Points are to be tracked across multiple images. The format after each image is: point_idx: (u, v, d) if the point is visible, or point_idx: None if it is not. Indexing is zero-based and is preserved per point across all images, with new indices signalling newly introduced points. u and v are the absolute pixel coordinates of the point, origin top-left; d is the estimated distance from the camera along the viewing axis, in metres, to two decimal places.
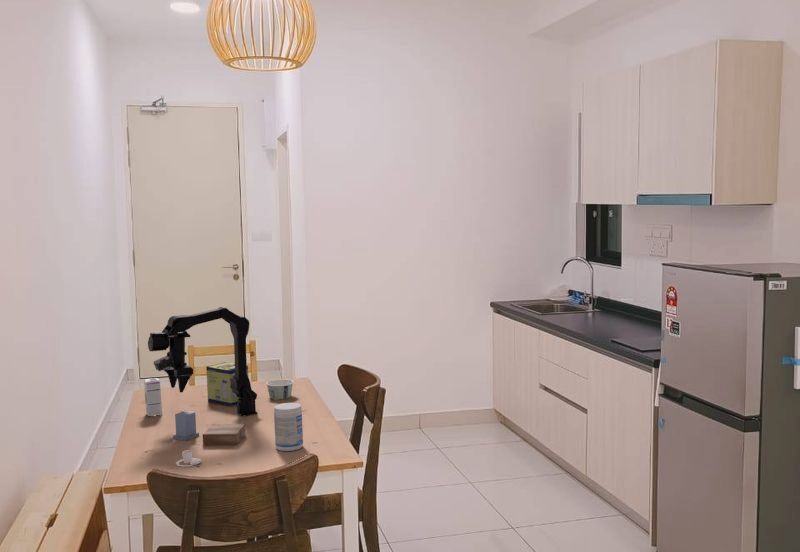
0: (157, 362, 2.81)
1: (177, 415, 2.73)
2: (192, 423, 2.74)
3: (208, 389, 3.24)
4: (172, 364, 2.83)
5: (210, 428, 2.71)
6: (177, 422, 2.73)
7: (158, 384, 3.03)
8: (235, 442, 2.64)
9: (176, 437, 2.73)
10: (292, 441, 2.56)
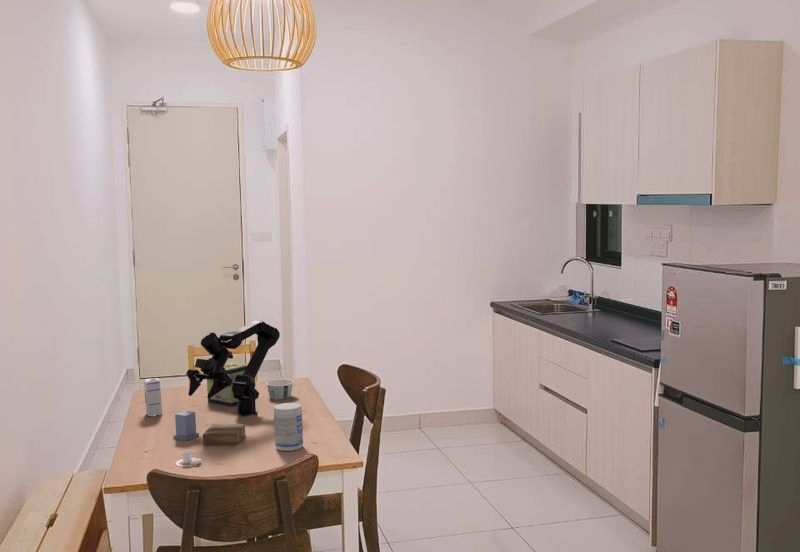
0: None
1: (177, 415, 2.73)
2: (192, 423, 2.74)
3: (208, 389, 3.24)
4: (213, 369, 2.83)
5: (210, 428, 2.71)
6: (177, 422, 2.73)
7: (158, 384, 3.03)
8: (235, 442, 2.64)
9: (176, 437, 2.73)
10: (292, 441, 2.56)
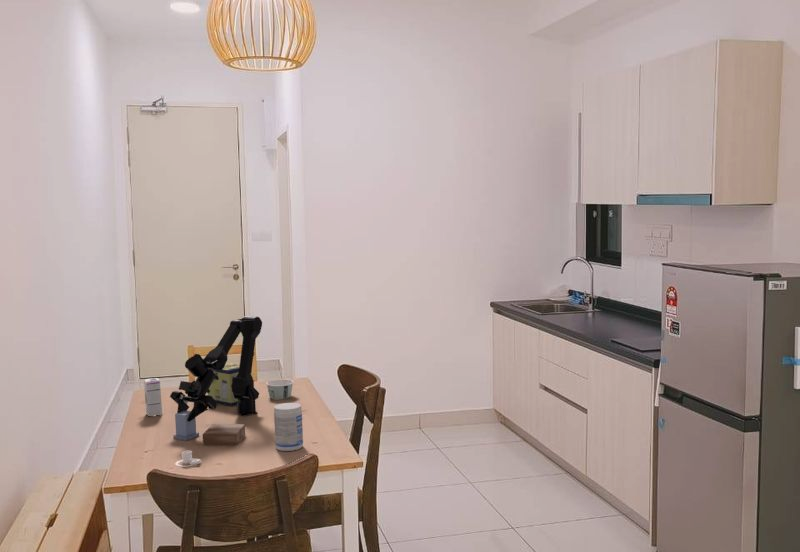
0: (188, 382, 2.74)
1: (177, 415, 2.73)
2: (192, 422, 2.74)
3: None
4: (198, 392, 2.76)
5: (210, 428, 2.71)
6: (177, 422, 2.73)
7: (158, 384, 3.03)
8: (235, 442, 2.64)
9: (176, 437, 2.73)
10: (292, 441, 2.56)
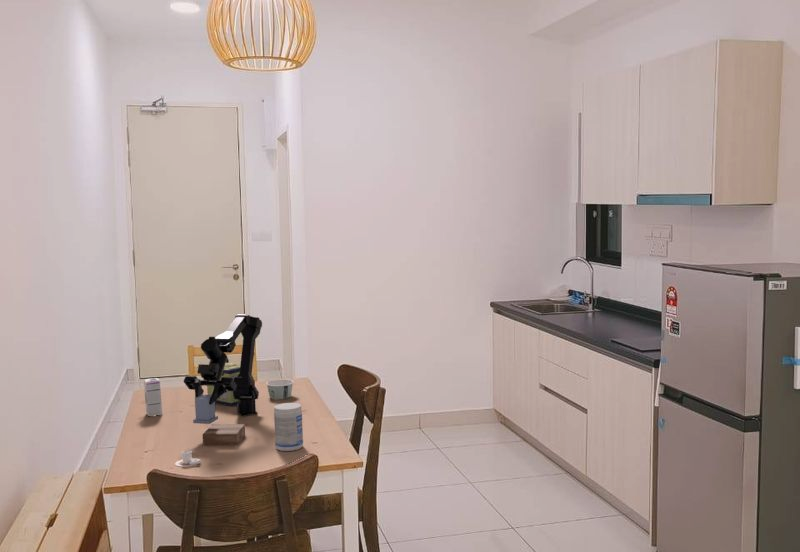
0: None
1: (197, 399, 2.68)
2: (212, 406, 2.71)
3: (208, 389, 3.24)
4: (216, 374, 2.73)
5: (210, 428, 2.71)
6: (197, 406, 2.69)
7: (158, 384, 3.03)
8: (235, 442, 2.64)
9: (197, 421, 2.68)
10: (292, 441, 2.56)
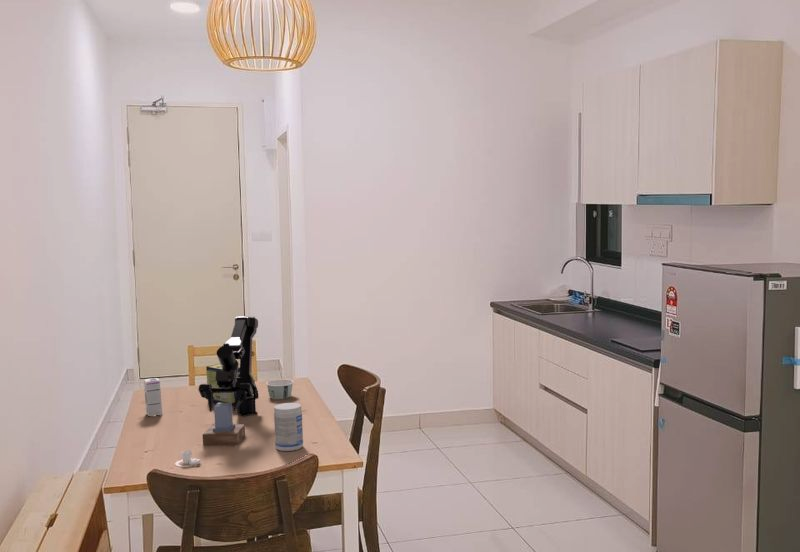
0: None
1: (217, 407, 2.67)
2: (231, 413, 2.71)
3: None
4: (233, 381, 2.73)
5: (210, 428, 2.71)
6: (217, 414, 2.67)
7: (158, 384, 3.03)
8: (235, 442, 2.64)
9: (217, 430, 2.67)
10: (292, 441, 2.56)
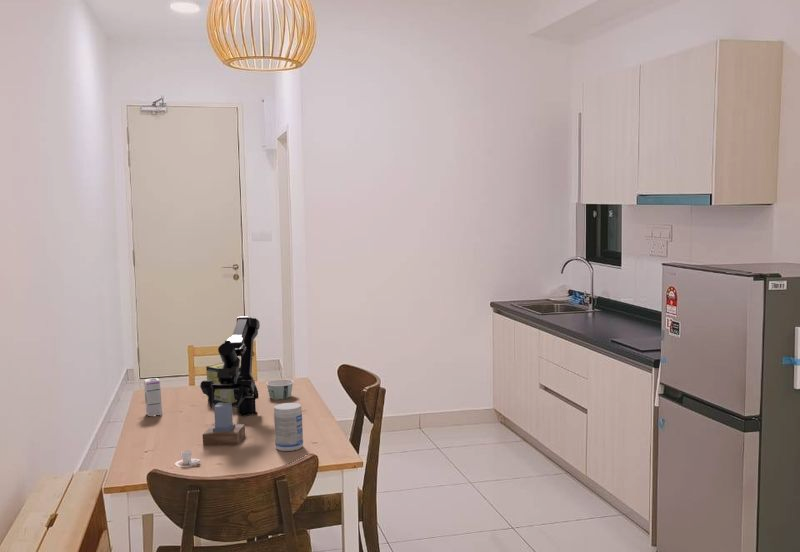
0: None
1: (217, 407, 2.67)
2: (231, 413, 2.71)
3: None
4: (234, 378, 2.75)
5: (210, 428, 2.71)
6: (217, 414, 2.67)
7: (158, 384, 3.03)
8: (235, 442, 2.64)
9: (217, 430, 2.67)
10: (292, 441, 2.56)
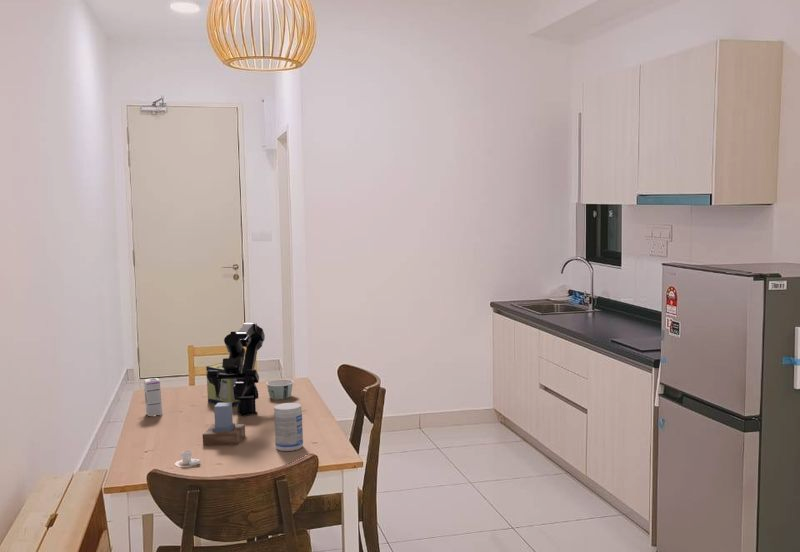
0: None
1: (217, 407, 2.67)
2: (231, 413, 2.71)
3: (208, 389, 3.24)
4: (239, 367, 2.83)
5: (210, 428, 2.71)
6: (217, 414, 2.67)
7: (158, 384, 3.03)
8: (235, 442, 2.64)
9: (217, 430, 2.67)
10: (292, 441, 2.56)
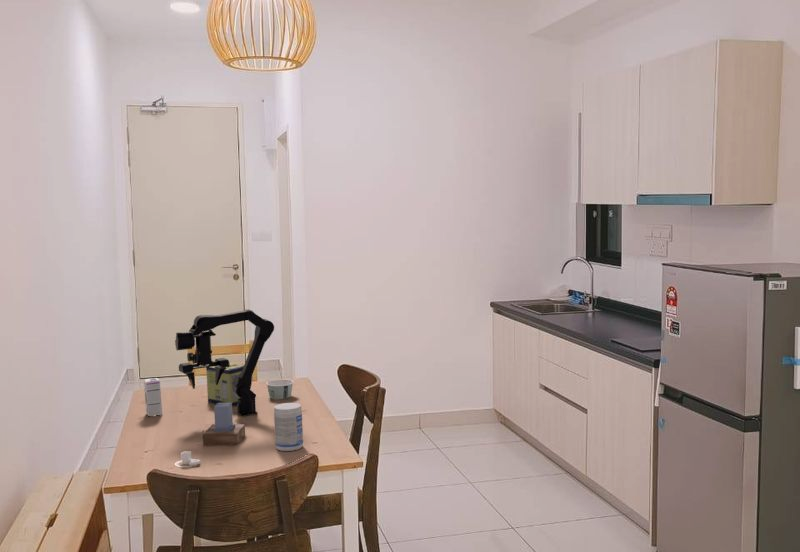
0: None
1: (217, 407, 2.67)
2: (231, 413, 2.71)
3: (208, 389, 3.24)
4: (194, 360, 2.96)
5: (210, 428, 2.71)
6: (217, 414, 2.67)
7: (158, 384, 3.03)
8: (235, 442, 2.64)
9: (217, 430, 2.67)
10: (292, 441, 2.56)
